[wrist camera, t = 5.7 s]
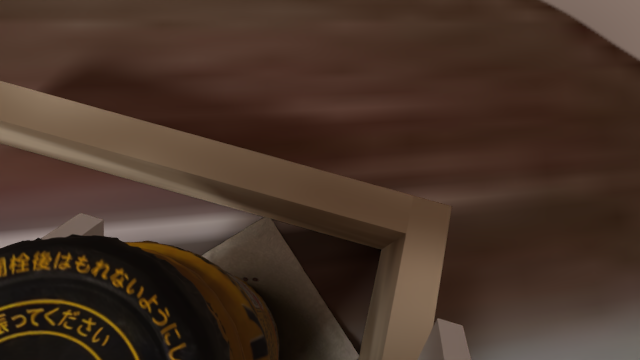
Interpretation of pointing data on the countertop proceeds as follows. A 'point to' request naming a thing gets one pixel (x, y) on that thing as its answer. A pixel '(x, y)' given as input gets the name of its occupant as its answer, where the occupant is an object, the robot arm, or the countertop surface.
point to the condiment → (163, 301)
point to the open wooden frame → (257, 200)
